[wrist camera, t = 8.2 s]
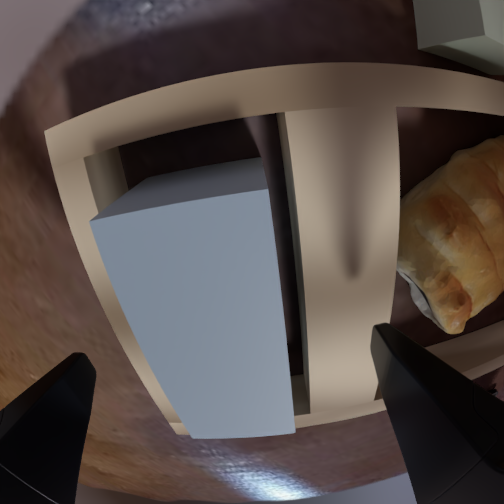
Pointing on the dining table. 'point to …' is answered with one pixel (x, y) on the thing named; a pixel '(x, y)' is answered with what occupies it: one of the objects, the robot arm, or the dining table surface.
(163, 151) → the dining table surface
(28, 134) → the dining table surface
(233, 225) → the wing block
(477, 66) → the block
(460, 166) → the pastry
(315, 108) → the frame
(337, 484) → the dining table surface
